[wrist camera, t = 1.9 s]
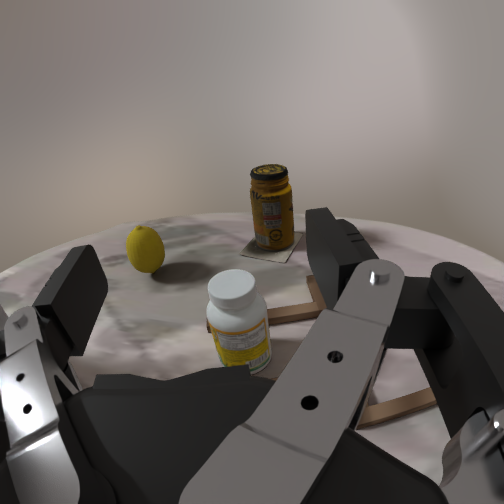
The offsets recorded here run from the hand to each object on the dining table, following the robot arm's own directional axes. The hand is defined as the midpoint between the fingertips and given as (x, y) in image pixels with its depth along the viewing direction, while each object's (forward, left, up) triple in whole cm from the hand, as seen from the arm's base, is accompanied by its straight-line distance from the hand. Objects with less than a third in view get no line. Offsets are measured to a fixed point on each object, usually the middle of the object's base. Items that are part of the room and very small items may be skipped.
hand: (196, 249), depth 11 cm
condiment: (+23, +23, -20) cm, 38 cm away
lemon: (+6, +31, -20) cm, 37 cm away
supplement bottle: (+6, +9, -20) cm, 23 cm away
